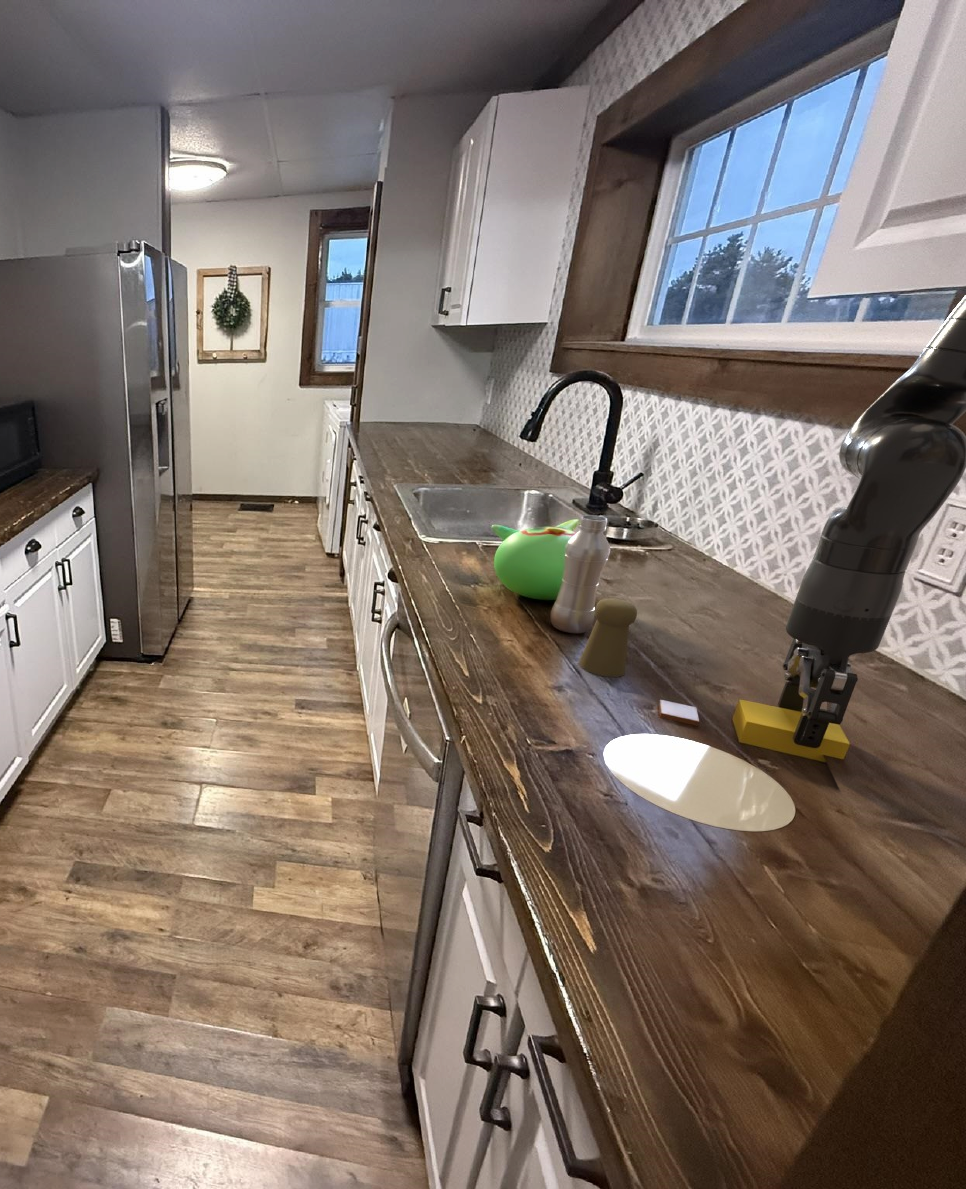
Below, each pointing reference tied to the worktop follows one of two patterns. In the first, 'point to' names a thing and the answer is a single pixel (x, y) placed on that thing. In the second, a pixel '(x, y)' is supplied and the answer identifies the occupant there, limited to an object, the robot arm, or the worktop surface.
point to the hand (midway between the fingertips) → (796, 727)
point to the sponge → (783, 732)
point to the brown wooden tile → (678, 712)
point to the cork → (609, 638)
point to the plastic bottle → (581, 576)
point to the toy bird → (533, 559)
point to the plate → (699, 782)
